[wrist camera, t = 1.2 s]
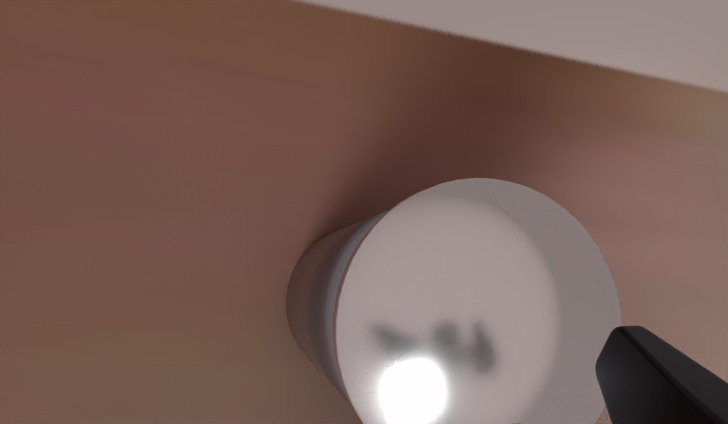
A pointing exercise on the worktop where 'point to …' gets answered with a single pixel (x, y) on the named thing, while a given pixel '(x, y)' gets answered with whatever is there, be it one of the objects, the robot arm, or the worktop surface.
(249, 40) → the worktop surface
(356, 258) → the grey can
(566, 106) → the worktop surface
